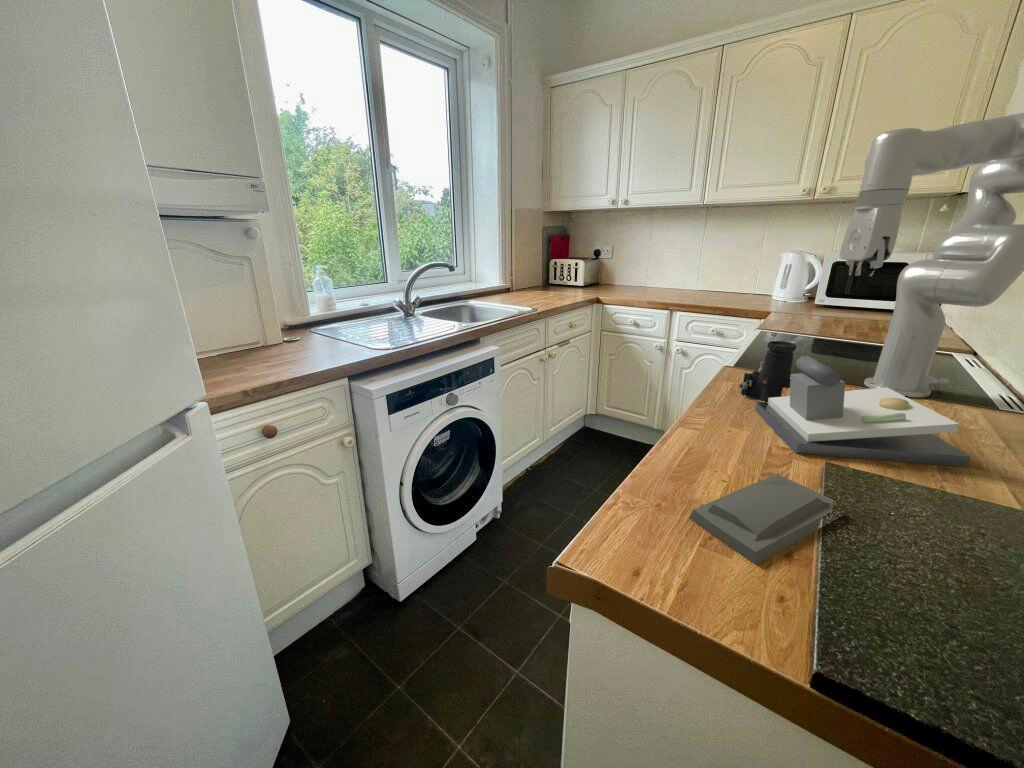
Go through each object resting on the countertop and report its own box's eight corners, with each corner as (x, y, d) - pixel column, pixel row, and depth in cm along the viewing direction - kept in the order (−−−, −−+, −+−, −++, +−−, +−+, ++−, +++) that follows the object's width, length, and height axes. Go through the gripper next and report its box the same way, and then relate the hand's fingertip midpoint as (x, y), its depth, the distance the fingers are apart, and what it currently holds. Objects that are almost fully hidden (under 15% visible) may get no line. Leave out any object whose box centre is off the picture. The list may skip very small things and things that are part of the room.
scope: (766, 336, 100) (810, 345, 92) (755, 389, 105) (796, 402, 96) (745, 340, 96) (790, 349, 88) (735, 395, 101) (776, 409, 93)
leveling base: (887, 418, 88) (890, 410, 87) (966, 466, 69) (970, 456, 68) (754, 410, 92) (756, 401, 91) (795, 453, 74) (798, 443, 73)
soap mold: (846, 519, 57) (852, 497, 56) (756, 569, 49) (761, 545, 47) (772, 482, 66) (777, 463, 65) (685, 519, 57) (688, 498, 56)
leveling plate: (886, 394, 85) (891, 340, 82) (957, 431, 68) (968, 366, 65) (768, 404, 90) (768, 353, 87) (807, 441, 73) (810, 381, 70)
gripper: (839, 204, 90) (818, 290, 96) (882, 198, 76) (854, 298, 82) (878, 204, 88) (854, 291, 94) (930, 197, 74) (898, 300, 80)
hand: (854, 294), depth 88 cm, fingers closed
